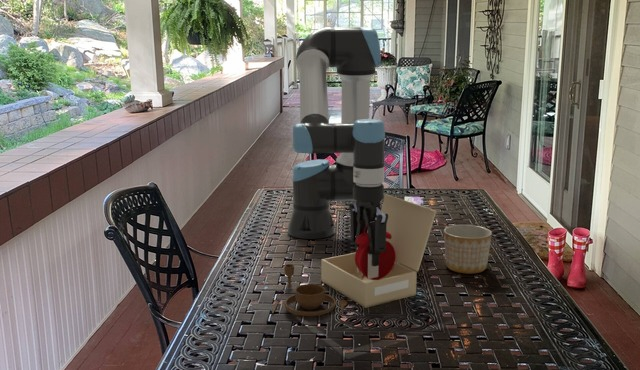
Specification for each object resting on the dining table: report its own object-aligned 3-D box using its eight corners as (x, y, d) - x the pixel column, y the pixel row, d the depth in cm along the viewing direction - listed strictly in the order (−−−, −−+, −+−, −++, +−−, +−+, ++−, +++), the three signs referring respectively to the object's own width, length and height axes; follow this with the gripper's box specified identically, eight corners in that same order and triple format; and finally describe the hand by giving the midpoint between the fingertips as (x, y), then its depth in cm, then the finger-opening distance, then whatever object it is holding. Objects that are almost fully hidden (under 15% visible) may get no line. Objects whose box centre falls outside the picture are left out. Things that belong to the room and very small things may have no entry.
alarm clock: (388, 275, 166) (380, 218, 166) (402, 277, 160) (393, 218, 160) (354, 284, 161) (345, 225, 161) (366, 286, 156) (358, 225, 155)
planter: (438, 272, 172) (440, 235, 170) (446, 258, 184) (447, 222, 181) (487, 278, 168) (489, 240, 166) (492, 262, 179) (493, 227, 177)
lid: (381, 192, 171) (387, 194, 172) (365, 248, 172) (371, 249, 173) (430, 209, 154) (436, 210, 155) (412, 270, 155) (418, 271, 156)
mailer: (321, 281, 166) (321, 259, 165) (368, 270, 174) (369, 249, 173) (365, 308, 149) (366, 283, 148) (416, 295, 157) (416, 271, 156)
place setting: (267, 317, 146) (267, 293, 145) (282, 285, 166) (282, 263, 164) (344, 320, 144) (344, 296, 143) (350, 287, 164) (350, 265, 162)
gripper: (336, 178, 161) (336, 267, 166) (376, 192, 147) (375, 288, 152) (361, 175, 165) (360, 261, 170) (402, 188, 150) (400, 282, 156)
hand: (367, 274), depth 161 cm, fingers closed on alarm clock, 4 cm apart
